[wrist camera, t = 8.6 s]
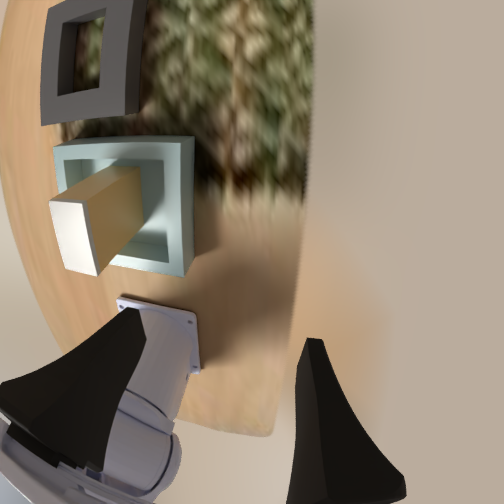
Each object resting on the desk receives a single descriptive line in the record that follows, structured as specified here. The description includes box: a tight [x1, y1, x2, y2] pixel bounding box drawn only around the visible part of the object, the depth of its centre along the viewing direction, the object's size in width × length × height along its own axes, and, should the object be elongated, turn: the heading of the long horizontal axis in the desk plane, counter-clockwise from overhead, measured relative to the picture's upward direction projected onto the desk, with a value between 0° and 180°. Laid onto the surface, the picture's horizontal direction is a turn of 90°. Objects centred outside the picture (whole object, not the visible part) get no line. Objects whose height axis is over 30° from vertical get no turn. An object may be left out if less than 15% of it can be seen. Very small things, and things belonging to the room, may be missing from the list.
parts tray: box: [53, 135, 195, 278], centre depth 18 cm, size 9×10×2 cm
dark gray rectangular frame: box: [40, 0, 148, 126], centre depth 13 cm, size 10×8×2 cm
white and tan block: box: [49, 166, 144, 277], centre depth 16 cm, size 4×3×6 cm, turn 175°
